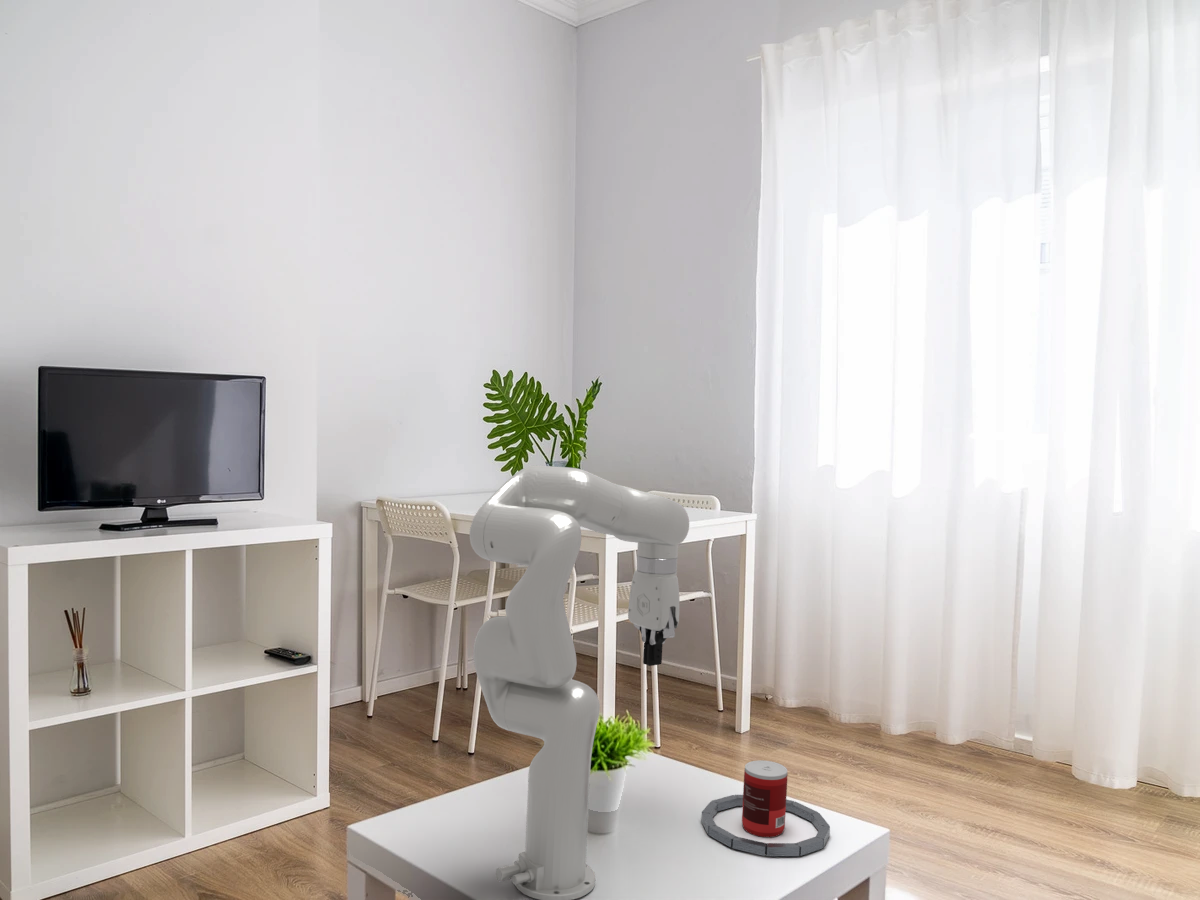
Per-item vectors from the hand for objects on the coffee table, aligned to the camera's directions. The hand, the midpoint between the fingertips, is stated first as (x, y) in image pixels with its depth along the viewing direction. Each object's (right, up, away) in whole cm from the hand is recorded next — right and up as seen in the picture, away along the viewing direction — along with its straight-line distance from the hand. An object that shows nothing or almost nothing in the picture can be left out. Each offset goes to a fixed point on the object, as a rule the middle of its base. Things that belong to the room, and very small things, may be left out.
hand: (652, 663), depth 172 cm
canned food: (+20, -28, -6) cm, 35 cm away
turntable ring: (+20, -28, -6) cm, 35 cm away
